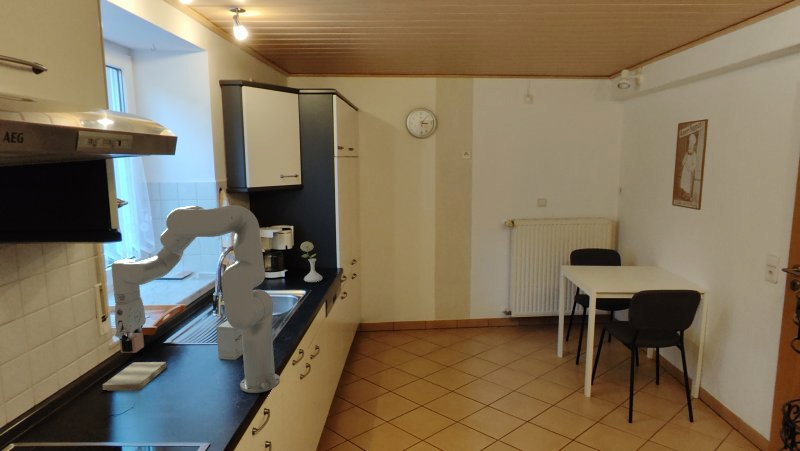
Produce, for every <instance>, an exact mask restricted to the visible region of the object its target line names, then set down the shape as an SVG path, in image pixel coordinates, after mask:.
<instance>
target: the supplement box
mask: <svg viewBox="0 0 800 451" xmlns="http://www.w3.org/2000/svg"><path fill="white" fill-rule="evenodd" d="M215 330H216V340H217V355H218V356H217V357H218V359H219V360H229V361H231V360H232V361H233V360H234V361H236V360H237V359H238V358H240V357H241V356H243V347H242V330H237V329H235V328H233V327H232V326H231V325H230V324H229V322H228V320H226V321H224V322H223V323H221V324H219V325H217V326H216V329H215Z"/></svg>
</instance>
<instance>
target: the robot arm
mask: <svg viewBox="0 0 800 451" xmlns="http://www.w3.org/2000/svg"><path fill="white" fill-rule="evenodd" d="M165 223H166V224H165V225H166V229H165V230H164V231H163V232H162V233H161V234H160V237H159V241H160V243H161V245H162V246H163V247H162V248H161V249H160V251H158V252H157V254H155V255H154V256H153V257H150V258H147V259H142V260H140V261H136V260H135V259H130V258H129V259H128V258H127V259H120V260H115V261H113V263H111V276H112V287H113V296H114V303H115V305H114V306H115V307H114V324H115V330H116V331H115V337H116V338H118V339H119V342H120V341H121V343H122V351H123V352H132V351H133V349H132V340H130V335H131V333H143V326H144V325H145V324H146V313H145V307H144V301H143V299H142V296H141V289H140V286H142V285H146V284H148V283H149V284H150V283H151V282H153V281H156V280H158V279H162V278H163V277H165V276H167V275H168V274H169V273H170V272H171V271H172V270H173V269H174V268H175V267H176V266H177V265H178V264H179V263H180V261H181V260H182V257H183V256H184V255H183V254H184V251H185V250H186V249H187V248H188V247H189V246H190V245H191V244H192V243H193V242H194V241H195V240H196V238H215V237H221V236H224V235H227V234H231V233H233V234H234V238H233V239H234V240H233V245H232V246H233V248H232V249H233V253H234V254H233V255H234V263H233V264H230V266H228V267H227V268H226V269H225V270H224V272H223V274H222V277H221V292H222V298H223V299H222V300H223V305H224V312H225V317H226V321H228V322H229V324H230V325H231V326H232V327H233V328H235V329H237V330H242V347H243V354H242V357H243V359H242V360H243V371H244V372H243V373H244V378H243V379H242V380H241V381H240V382H239V386H240V390H241V391H243V392H245V393H249V394H258V393H265V392H268V391H270V390H274V389H275V388H277V387H278V386H279V384H280V382H281V377H280V376H279V374H277V373H275V369H276V368H275V356H274V342H273V341H274V340H273V313H274V304H273V303H274V302H273V299H272V296H271V295H270V294H269V293H268V292H267V291H265V290H262V289H255V288H256V287H258V286H259V285H261V284H262V283H263V282H264V280H265V278H266V270H265V262H264V254H263V248H262V239H261V232H260V231H261V229H260V224H259V221H258V219H257V217H256V216H255V214H254V213H253V212H252V211H251V210H250V209H248V208H246V207H244V206H241V205H238V204H237V205H235V204H231V205H224V206H220V207H214V208H203V207H201V206H199V205H190V206H184V207H177V208H175V209H173V210H171V212H169V214H168V215H167V216H166V219H165ZM126 334H127V336H126Z"/></svg>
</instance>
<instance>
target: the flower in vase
mask: <svg viewBox="0 0 800 451" xmlns="http://www.w3.org/2000/svg"><path fill="white" fill-rule="evenodd" d="M313 249H314V244H313V243H312V242H310V241H304V242H302V243H301V244H300V250H301V251H302V252H306V253H304V254H303V255H301V257H302V258H308V259H307V260H308V261H309V262H308V263H310V271H309V273H307V275H305V276H304V278H303V280H304V282H307V283H317V281H318V282H320V281H322V280H323V276H322V275H321V274H320V273H318V272H317V271H316V268H315V265H316V261H317V258H313V257H315V256H316V255H317V253H314V254H312V255H311V256H310V255H309V252H310V251H312V250H313Z"/></svg>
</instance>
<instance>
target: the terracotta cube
mask: <svg viewBox="0 0 800 451" xmlns="http://www.w3.org/2000/svg"><path fill="white" fill-rule="evenodd" d="M125 335H126V336H127V333H125ZM130 340H132V349H133V351H132V352H123V351H122V343H121V341H120V340H119V345H120V347H119V348H120V353H122V354H123V353H125V354H126V353H127V354H128V353H129V354H130V353H133V354H134V353H137V352H139V351H140V350H141V349H143V348H144V347H145V341H144V333H143V332H142V333H133V332H131V335H130Z"/></svg>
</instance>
